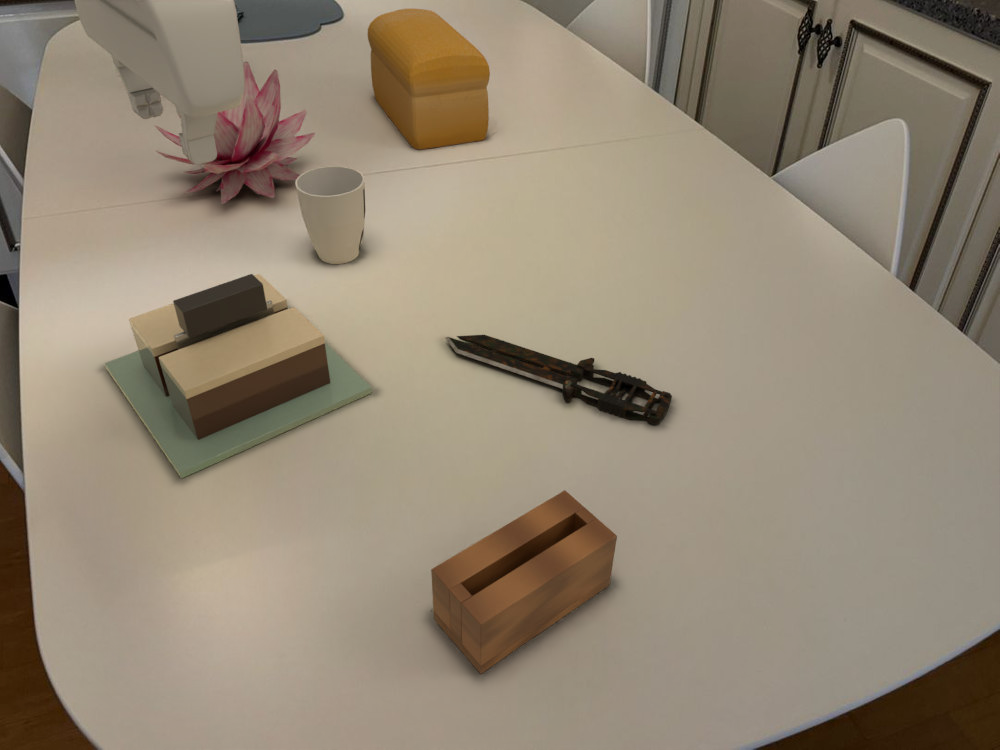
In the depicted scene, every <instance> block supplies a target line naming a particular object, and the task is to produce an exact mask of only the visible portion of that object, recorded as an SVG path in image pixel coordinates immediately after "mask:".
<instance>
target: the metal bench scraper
mask: <svg viewBox="0 0 1000 750" xmlns="http://www.w3.org/2000/svg"><path fill="white" fill-rule="evenodd" d="M254 275H255V274H253V273H250V274H247V275H244V276H241V277H238V278H236V279H233V280H229V281H226V282H223V283H221V284H220V283H219V284H218V285H214V286H211V287H209V288H207V289H203V290H201V291H198V292H194V293H191V294H189V295H186V296H183V297H180V298H177V299H174V300H173V301H172V302H173V303H174V307H175V310H176V314H177V318H178V322H179V325H180V327H181V328H182V330H183V331H184V332H182V333H179V334H176V335H174V339H175V342H176V346H177V349H178V350H179V349H182V348H184V347H187V346H190V345H192V344H195V343H198V342H200V341H203V340H206V339H209V338H211V337H214V336H217V335H219V334H222V333H225V332H227V331H230V330H233V329H235V328H238V327H241V326H243V325H246V324H249V323H251V322H254V321H257V320H259V319H262V318H265V317H268V316H270V315H273V314H274V308H273V303H272V301H271V300H270V301H267V302H266V299H265V294H264V288H263V284H262V283H261V282H260V281H259V280H258V279H257V278H256V277H255V276H254ZM173 303H172V304H173Z"/></svg>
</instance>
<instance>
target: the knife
mask: <svg viewBox="0 0 1000 750" xmlns="http://www.w3.org/2000/svg"><path fill="white" fill-rule="evenodd" d="M456 337H457V339H456V338H453V337H451V336H446V337H444V339H445V340H446V342H447V343H448V344H449V346H450V347H451V348H452V349H453V350H454V352H455V353H456V354H459V355H461V356H464V357H467V358H470V359H473V360H475V361H479V362H482V363H485V364H488V365H491V366H494V367H497V368H500V369H503V370H505V371H508V372H512V373H515V374H518V375H521V376H524V377H527V378H530V379H531V380H535V381H538V382H541V383H544V384H546V385H549V386H553V387H556V388H559V389H561V390H562V391H561V394H562V397H563V399H564V402H565V403H567V404H569V403H570V402H571V401H572V399H573V398H574V397H575V398H579V399H581V400H582V401H583V402H585V403H587V404H588V405H591V406H594V407H597V408H598V410H599V411H600V412H602V411H603V412H604V413H606V414H607V413H608V414H609V415H614V417H617V416H618V418H624V419H626V420H630V421H632V420H636V421H647V423H649V424H652V425H658V424H660V423H661V421H663V420H664V418H665V416H666V415H667V413H668V411H669V408H670V405H671V403H672V399H673V395H672V394H671V393H670V392H667V391H664V390H658V389H655V388H654V387H653V386H651V385H650V384H648V383H647V381H646V380H644V379H642V378H639V377H638V378H637V377H636V376H632V375H631V374H628V375H627V373H622V372H621V371H618V372H613V371H610V370H607V369H595V367H594V366H595V365H594V363H595V358H594V357H589V358H585V359H581V360H580V361H579V362H578V363H577V364H575V363H573V362H569V361H567V360H564V359H561V358H557V357H554V356H551V355H548V354H545V353H542V352H539V351H536V350H533V349H530V348H527V347H523V346H520V345H517V344H514V343H511V342H508V341H505V340H503V339H499V338H497V337H493V336H490V335H486V334H472V335H471V334H470V335H456ZM594 374H595V375H599V376H601V377H594ZM582 379H585V380H588V381H591V382H595V383H598V384H600V385H602V386H606V387H609V388H608V389H607V390H606V391H605V392H602V391H598V390H596V389H592V388H590V387H587V386H584V385H581V384H578V381H581V380H582ZM618 392H619V393H618ZM582 393H585V394H582ZM626 393H627V395H626V397H625V398H624V399H623V398H622V396H623V395H625V394H626ZM650 393H651V394H650ZM657 395H659V396H658V397H656V396H657ZM635 397H639V398H642V399H645V400H647V401H646V403H645V405H640V404H637V403H634V402H633V400H634V399H635ZM656 403H657V404H658V405H657V407H656V410H655V409H652V408H653V407H654V405H655V404H656ZM641 413H643V414H641Z"/></svg>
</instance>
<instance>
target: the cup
mask: <svg viewBox="0 0 1000 750" xmlns="http://www.w3.org/2000/svg"><path fill="white" fill-rule="evenodd" d="M299 175H300V176H299V177H298V178H297V179H295V183H294V184H295V190H296V194H297V198H298V203H299V207H300V212H301V216H302V219H303V222H304V223H303V224H304V225H305V228H306V232H307V235H308V237H309V240H310V242H311V244H312V246H313V248H314V250H315V252H316V254H317V256H318V257H319V260H320V261H322V262H323V263H326V264H331V265H343V264H347V263H350V262H352V261H354V260H356V259H357V258H358V257H359V255H360V251H361V246H362V243H363V239H364V233H365V232H364V231H365V222H366V187H365V186H366V184H365V183H366V182H365V176H364V174H363V173H362V172H360V171H359V170H357V169H355V168H352V167H349V166H341V165H327V166H326V165H325V166H321V167H314V168H312V169H309V170H306V171H305V172H303V173H301V174H299Z"/></svg>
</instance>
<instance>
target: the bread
mask: <svg viewBox="0 0 1000 750" xmlns="http://www.w3.org/2000/svg"><path fill="white" fill-rule="evenodd" d="M367 41H368V44H369V47H370V73H371V85H372V90H373V93H374V98H375V100H376V102H377V104H378V105H379V106H380V108H381V109H382V110H383V111H384V113H385V114H386V115H387V116H388V118H389V119H390V120H391V122H392V123H393V124H394V125H395V127H396V128H397V130H398V131H399V132H400V133H401V135H402V137H404V138H405V140H406V141H407V142H408V144H409V145H410V146H411V147H412V148H414V149H416V150H427V149H428V150H429V149H434V148H441V147H447V146H454V145H460V144H467V143H472V142H481V141H484V140H486V138H487V134H488V130H489V119H490V117H489V113H490V111H489V110H490V109H489V92H488V88H487V87H488V85H489V82H490V76H491V72H490V71H491V70H490V65H489V63H488V60H487V59H486V57H485V56H484V54H483V53H482V52H481V51H480V50H479V49H478V48H477V47H476V46H475V45H474V44H472V43H471V42H470V41H469V40H468V39H467V38H466V37H465V36H464V35H462V34H461V33H460V32H459V31H457V30H456V29H455V28H454V27H453V26H452V25H451V24H450V23H448V22H447V21H446V20H445V19H443V18H442V17H441V16H440V15H439V14H438V13H436V12H435V11H433V10H431V9H430V10H429V9H424V8H423V9H422V8H413V7H412V8H402V9H397V10H393V11H389V12H386V13H383V14H380V15H378V16H376V17H375V18H374V19H373V20H372V21H371V22H370V23H369V25H368V28H367Z"/></svg>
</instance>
